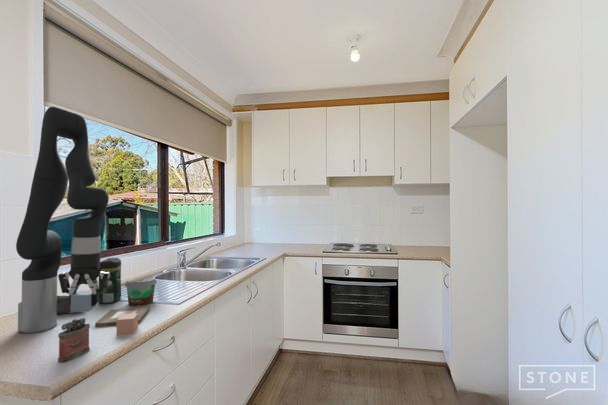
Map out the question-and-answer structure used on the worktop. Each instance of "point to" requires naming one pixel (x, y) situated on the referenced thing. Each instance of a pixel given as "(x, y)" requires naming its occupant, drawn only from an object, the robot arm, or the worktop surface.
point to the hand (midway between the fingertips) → (83, 305)
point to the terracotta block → (127, 324)
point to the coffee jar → (111, 281)
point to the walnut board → (114, 314)
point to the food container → (140, 292)
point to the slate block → (81, 301)
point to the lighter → (73, 340)
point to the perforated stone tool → (63, 305)
